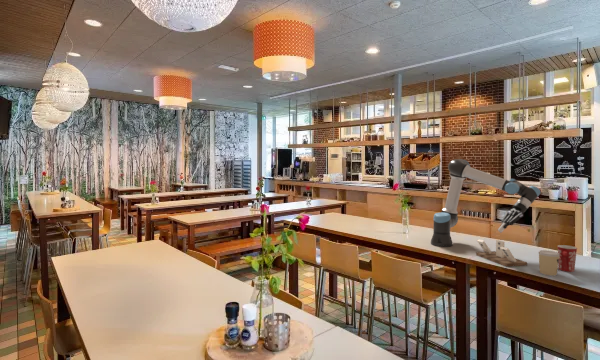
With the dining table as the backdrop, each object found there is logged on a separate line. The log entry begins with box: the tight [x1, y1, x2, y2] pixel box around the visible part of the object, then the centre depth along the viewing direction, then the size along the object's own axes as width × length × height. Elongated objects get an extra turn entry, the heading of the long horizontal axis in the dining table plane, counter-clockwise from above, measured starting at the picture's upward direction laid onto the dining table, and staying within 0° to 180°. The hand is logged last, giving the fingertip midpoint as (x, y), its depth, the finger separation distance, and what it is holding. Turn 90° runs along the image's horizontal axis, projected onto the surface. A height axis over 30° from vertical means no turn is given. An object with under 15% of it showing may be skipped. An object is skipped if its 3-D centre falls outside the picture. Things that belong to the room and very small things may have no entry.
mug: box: [556, 244, 578, 273], centre depth 195 cm, size 13×9×14 cm
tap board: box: [475, 250, 528, 268], centre depth 217 cm, size 26×14×2 cm, turn 11°
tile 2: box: [495, 239, 505, 258], centre depth 217 cm, size 5×2×10 cm, turn 11°
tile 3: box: [500, 246, 517, 262], centre depth 206 cm, size 5×2×10 cm
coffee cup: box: [538, 249, 559, 277], centre depth 191 cm, size 9×9×12 cm
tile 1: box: [476, 238, 492, 253], centre depth 226 cm, size 5×2×10 cm
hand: (499, 231), depth 228 cm, fingers closed
